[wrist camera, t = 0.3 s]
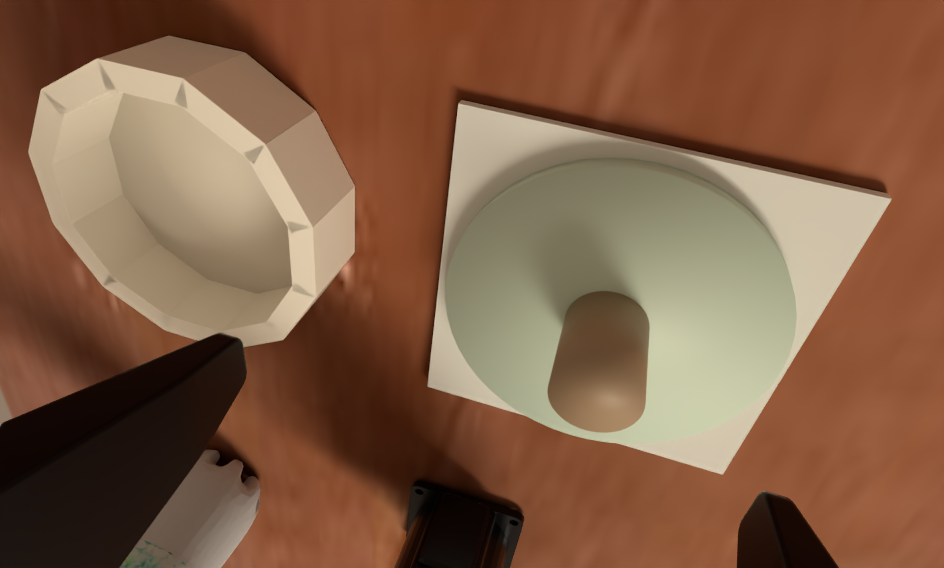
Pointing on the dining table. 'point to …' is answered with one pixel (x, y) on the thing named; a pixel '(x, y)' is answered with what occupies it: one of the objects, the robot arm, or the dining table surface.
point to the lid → (621, 301)
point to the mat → (757, 187)
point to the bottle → (200, 519)
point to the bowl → (195, 188)
